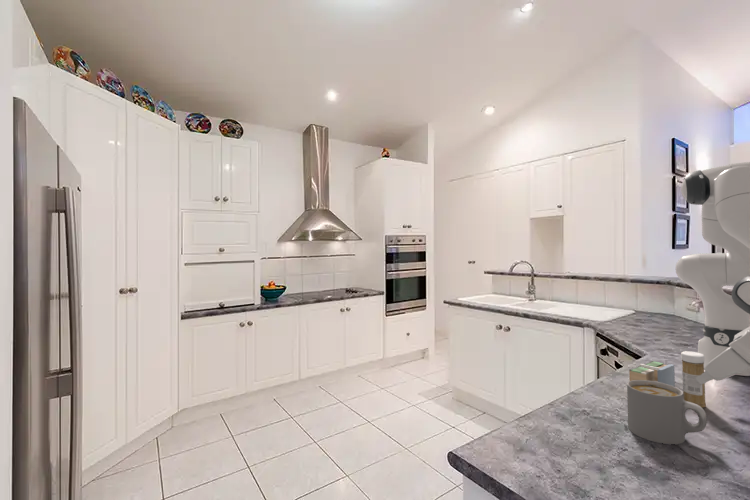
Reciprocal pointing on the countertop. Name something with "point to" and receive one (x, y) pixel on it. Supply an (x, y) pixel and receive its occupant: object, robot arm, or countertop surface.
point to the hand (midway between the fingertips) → (706, 377)
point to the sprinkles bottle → (693, 377)
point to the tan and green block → (645, 372)
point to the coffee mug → (660, 412)
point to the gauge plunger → (664, 374)
